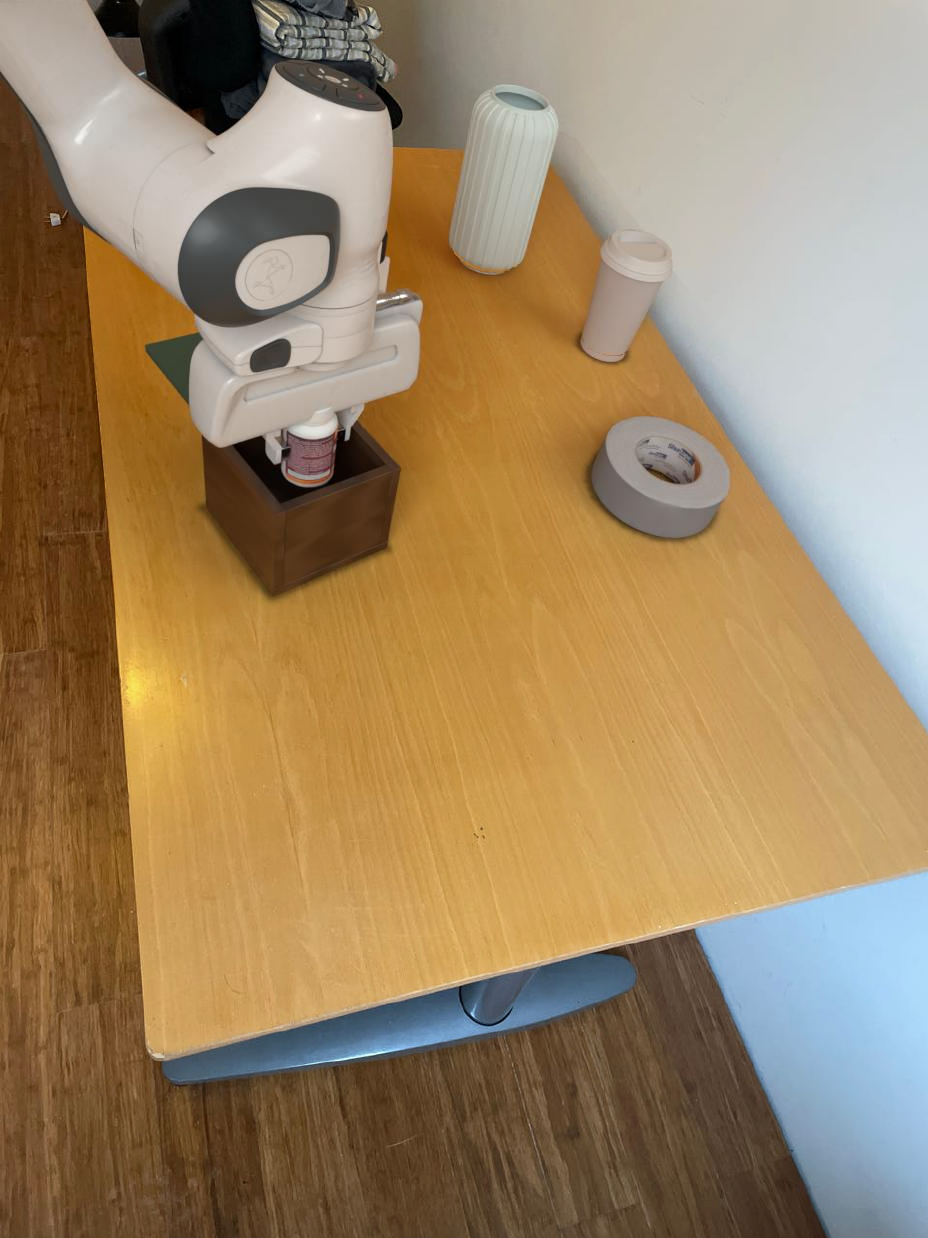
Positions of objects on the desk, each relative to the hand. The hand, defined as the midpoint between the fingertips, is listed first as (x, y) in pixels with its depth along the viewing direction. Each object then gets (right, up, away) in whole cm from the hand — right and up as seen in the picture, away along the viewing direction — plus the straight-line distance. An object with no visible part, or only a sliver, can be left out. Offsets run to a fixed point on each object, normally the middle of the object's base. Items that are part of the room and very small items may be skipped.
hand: (307, 448), depth 73 cm
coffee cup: (+33, +22, +41) cm, 57 cm away
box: (-3, -6, +9) cm, 12 cm away
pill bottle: (-1, -2, +2) cm, 3 cm away
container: (-1, +23, +33) cm, 40 cm away
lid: (-7, +8, +5) cm, 12 cm away
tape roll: (+36, 0, +24) cm, 44 cm away
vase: (+17, +38, +49) cm, 64 cm away
